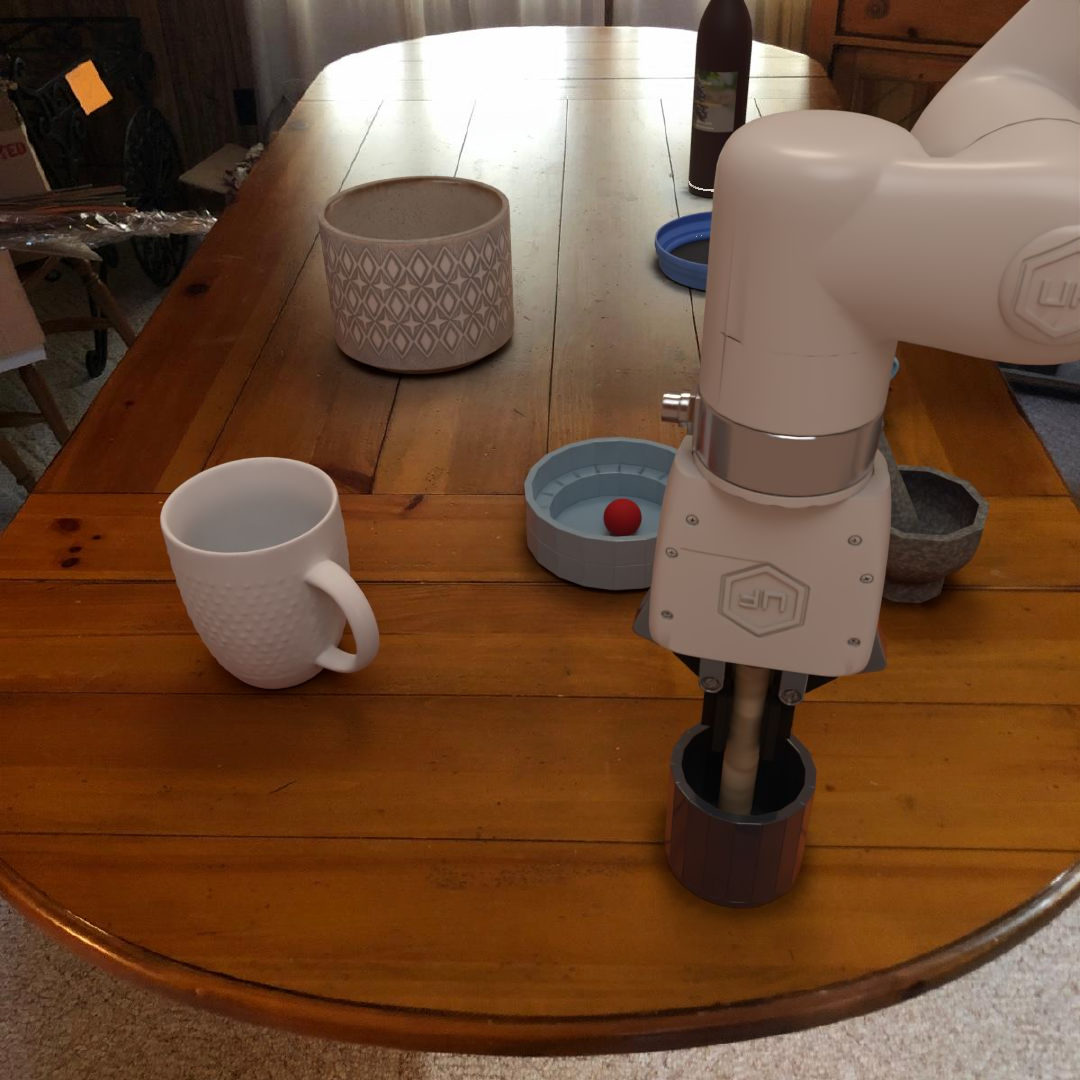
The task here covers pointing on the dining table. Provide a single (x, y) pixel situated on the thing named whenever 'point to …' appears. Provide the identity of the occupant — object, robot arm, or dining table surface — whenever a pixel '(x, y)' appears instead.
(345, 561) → the mug
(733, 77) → the wine bottle
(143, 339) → the dining table surface
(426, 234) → the planter
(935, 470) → the mortar and pestle
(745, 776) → the stick
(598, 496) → the mixing bowl
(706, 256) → the bowl
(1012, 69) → the robot arm
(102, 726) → the dining table surface
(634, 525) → the berry
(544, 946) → the dining table surface
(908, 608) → the dining table surface
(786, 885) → the holder
